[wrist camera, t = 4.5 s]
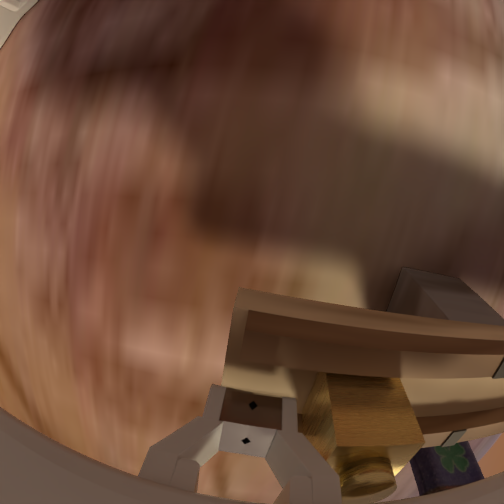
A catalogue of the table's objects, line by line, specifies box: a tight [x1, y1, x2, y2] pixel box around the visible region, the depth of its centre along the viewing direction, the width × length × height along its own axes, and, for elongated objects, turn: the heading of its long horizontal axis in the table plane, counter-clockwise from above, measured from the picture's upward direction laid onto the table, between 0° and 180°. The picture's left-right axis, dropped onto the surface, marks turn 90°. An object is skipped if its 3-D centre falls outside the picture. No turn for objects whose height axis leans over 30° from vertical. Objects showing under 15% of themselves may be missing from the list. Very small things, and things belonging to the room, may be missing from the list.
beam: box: [221, 267, 504, 448], centre depth 13 cm, size 6×24×11 cm, turn 80°
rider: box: [302, 372, 426, 504], centre depth 8 cm, size 3×3×5 cm
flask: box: [410, 441, 485, 496], centre depth 17 cm, size 9×3×11 cm, turn 68°
